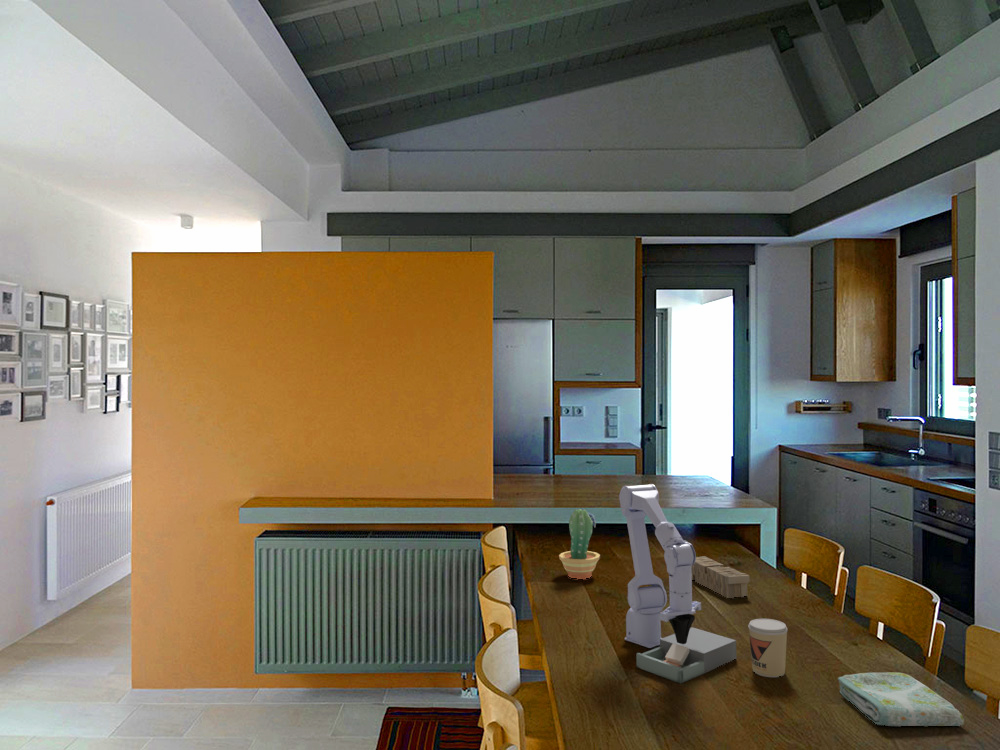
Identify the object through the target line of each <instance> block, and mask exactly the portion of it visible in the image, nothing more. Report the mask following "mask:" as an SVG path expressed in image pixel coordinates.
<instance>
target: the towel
mask: <svg viewBox="0 0 1000 750" xmlns="http://www.w3.org/2000/svg"><path fill="white" fill-rule="evenodd" d="M837 681H838V683H839V685H838V686H839V689H840V690H839V693H840V694H841V695H842V697H843V698H844V699H845V700H847V701H848V702H849V701H850V702H851V703H852V704H854V705H855V706H856V707H857V708H858V709H859V710H860V711H861V712H862V713H864V714H865V715H866V716H867V717H868V718H869V719H870V720H872V721H873V722H874V723H875V724H874V723H873V722H872V723H873V724H874V725H876V724H877V726H884V725H885V726H886V727H887V726H888V727H901V726H924V727H928V726H959V727H961V726H963V725H964V724H965V723H964V722H965V719H964V716H963V714H962V713H961V712H960V711H959V709H958V708H955V706H954V704H952V703H951V702H950V701H948V700H947V699H945V698H943V696H941V695H939V694H938V693H936V692H935V691H934V690H932V689H931V688H929V686H927V685H925V684H923V683H922V682H921V681H919V680H917V679H916V678H914V677H913V676H911V675H910V674H906V673H903V672H898V671H897V672H893V671H892V672H890V671H889V672H886V671H885V672H862V673H860V672H859V673H854V674H844V675H843V676H839V677H838V678H837ZM850 702H849V703H850ZM851 703H850V704H851ZM852 704H851V705H852ZM854 705H853V706H854ZM855 706H854V707H855ZM856 707H855V708H856ZM857 708H856V709H857ZM858 709H857V710H858ZM859 710H858V711H859ZM860 711H859V712H860ZM861 712H860V713H861ZM862 713H861V714H862ZM866 716H865V717H866ZM867 717H866V718H867ZM868 718H867V719H868ZM869 719H868V720H869ZM870 720H869V721H870ZM960 725H961V726H960Z"/></svg>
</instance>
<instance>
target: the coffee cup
mask: <svg viewBox="0 0 1000 750" xmlns="http://www.w3.org/2000/svg"><path fill="white" fill-rule="evenodd" d="M747 627H748V631H749V633H748V634H749V644H750V646H749V647H750V658H751V667H752V671H753V672H755V673H754V674H756V675H758V676H762V677H766V678H780V677H779V676H781V677H783V676H784V675H785V673H786V672H785V671H786V661H787V660H786V658H787V643H788V642H787V639H788V638H787V637H788V636H787V635H788V627H787V625H786V623H784V622H782V621H781V620H777V619H772V618H755V619H752V620H750V621H749V623H748V626H747Z"/></svg>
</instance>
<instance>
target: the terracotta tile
mask: <svg viewBox="0 0 1000 750" xmlns="http://www.w3.org/2000/svg"><path fill="white" fill-rule="evenodd" d="M664 662H667V663H670V664H672V665H675V666H678V667H681V665H680V664H676V663H673V662H669V661H667V660H665V661H664Z"/></svg>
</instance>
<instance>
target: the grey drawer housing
mask: <svg viewBox="0 0 1000 750" xmlns="http://www.w3.org/2000/svg"><path fill="white" fill-rule="evenodd" d="M661 638H662V639H660V645H659V647H662V648H663V658H665V656H666V654H667V652H668V651H669V649H670V647H671V646H672V644H677V645H681V646H684V647H688V648H689V651H690V652H689V654H688V656H687V658H686V659H685V661H684V663H683V665H686V666H688V665H691V664H693V663H696V662H698V661H700V660H701V661H704V674H706V673H708V672H711V671H713V670H715V669H717V667H718V668H720V667H721V665H722V666H724V665H726V664H725V663H727V664H728V662H729V663H731V662H733V661H732V660H734V659H736V660H737V640H736V639H733V638H730V637H726V636H722V635H719V634H716V633H713V632H709V631H706V630H703V629H699V628H695V627H693V626H691V627H690V630H689V634H688V638H687V642H686V644H680V643H677V640H676V636H675V633H672V634H670V635H668V636H665V637H661ZM730 661H731V662H730ZM734 661H735V660H734ZM723 664H724V665H723ZM719 666H720V667H719Z"/></svg>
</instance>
